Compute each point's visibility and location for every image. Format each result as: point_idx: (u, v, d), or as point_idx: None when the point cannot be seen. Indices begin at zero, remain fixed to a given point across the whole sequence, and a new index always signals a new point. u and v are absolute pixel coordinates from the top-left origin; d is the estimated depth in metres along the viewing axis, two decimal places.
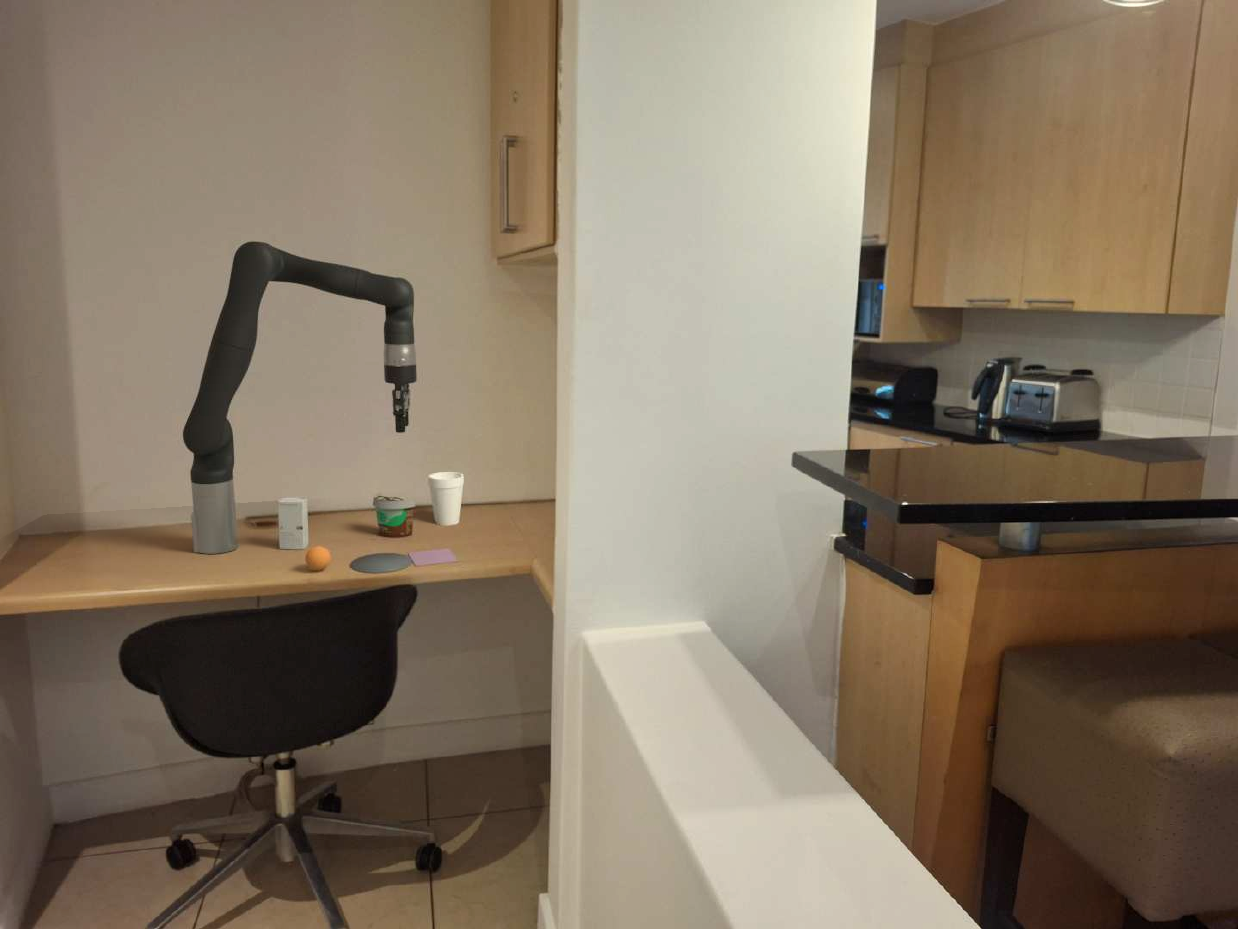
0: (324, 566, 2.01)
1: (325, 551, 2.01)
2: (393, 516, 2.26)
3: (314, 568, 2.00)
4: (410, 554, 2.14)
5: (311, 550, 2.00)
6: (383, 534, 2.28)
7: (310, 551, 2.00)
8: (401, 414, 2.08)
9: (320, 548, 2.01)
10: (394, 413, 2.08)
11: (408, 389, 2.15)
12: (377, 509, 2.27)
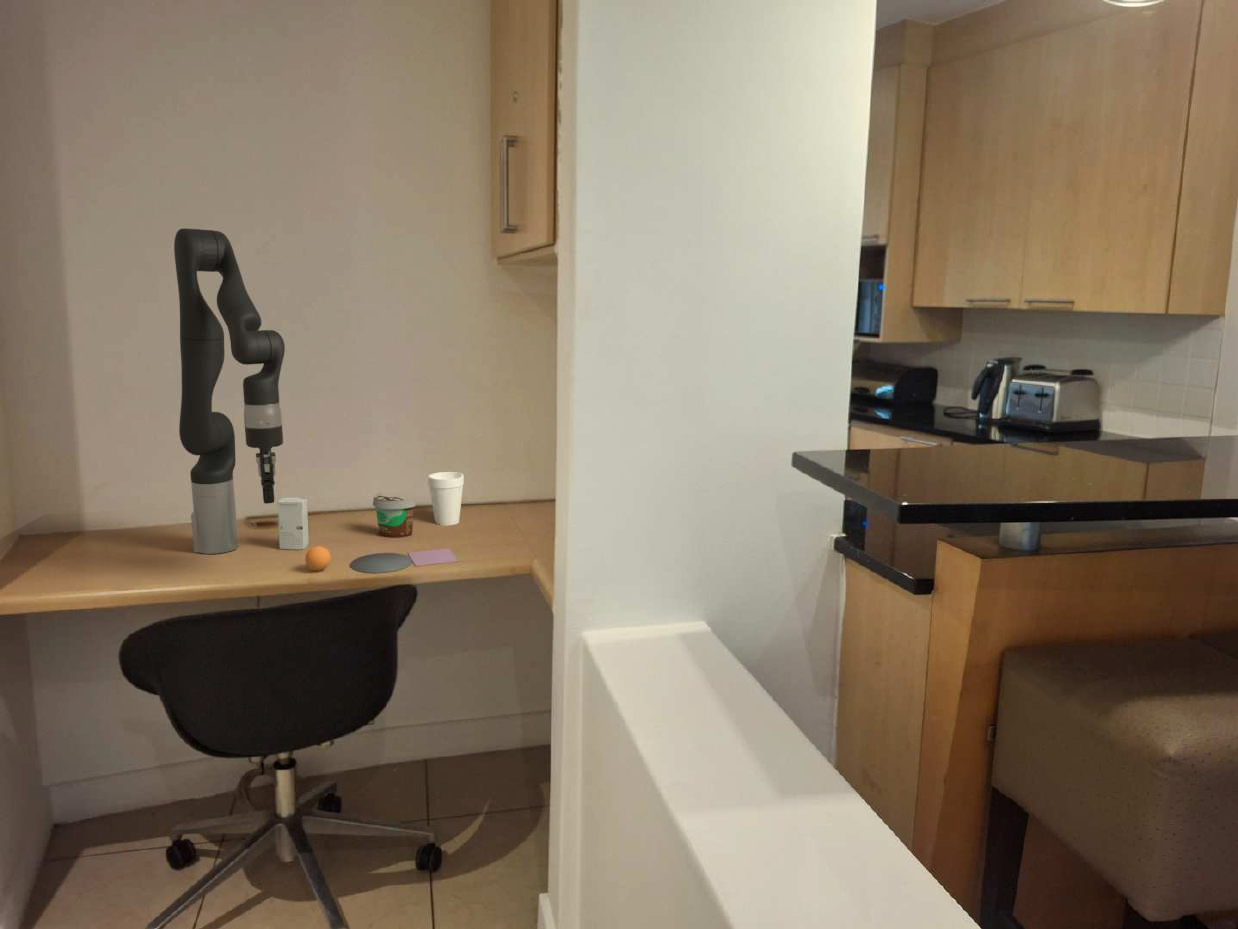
0: (324, 566, 2.01)
1: (325, 551, 2.01)
2: (393, 516, 2.26)
3: (314, 568, 2.00)
4: (410, 554, 2.14)
5: (311, 550, 2.00)
6: (383, 534, 2.28)
7: (310, 551, 2.00)
8: None
9: (320, 548, 2.01)
10: None
11: (257, 456, 1.91)
12: (377, 509, 2.27)
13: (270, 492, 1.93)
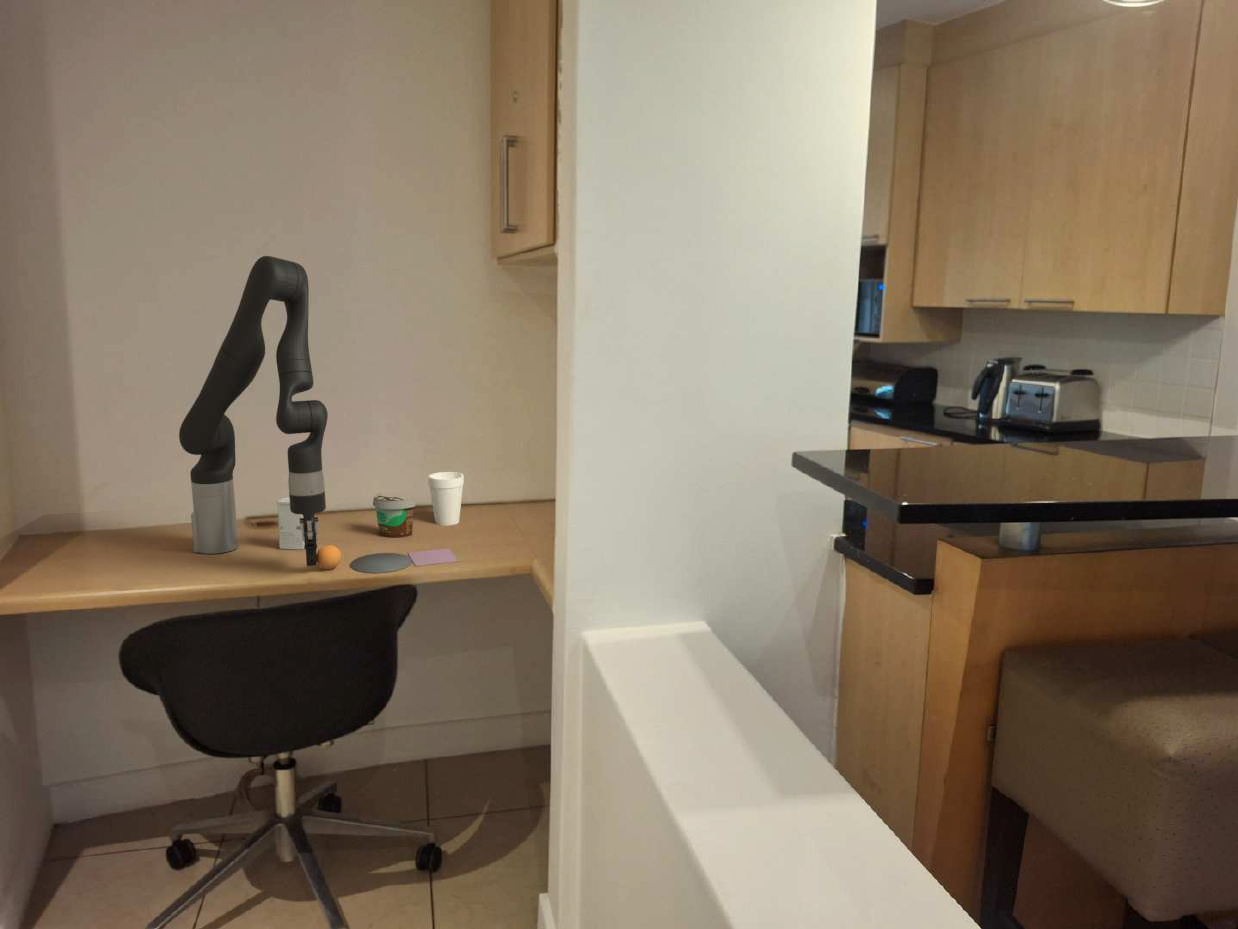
0: (331, 567, 2.01)
1: (339, 554, 2.02)
2: (393, 516, 2.26)
3: (322, 564, 2.01)
4: (410, 554, 2.14)
5: (328, 547, 2.02)
6: (383, 534, 2.28)
7: (326, 546, 2.02)
8: None
9: (336, 549, 2.02)
10: None
11: (301, 522, 1.96)
12: (377, 509, 2.27)
13: (313, 555, 1.99)
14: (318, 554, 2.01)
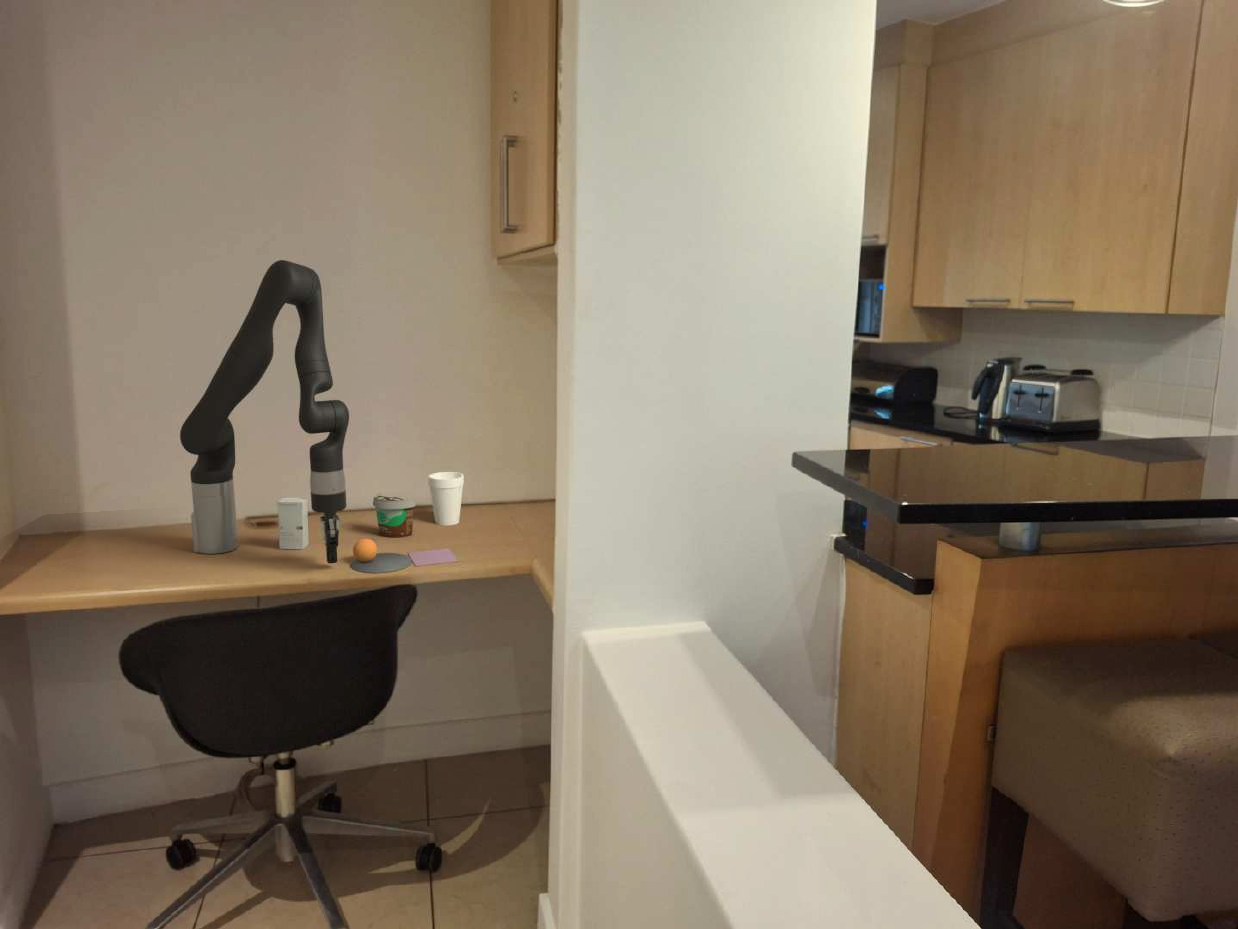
0: (362, 549, 2.05)
1: (368, 560, 2.07)
2: (393, 516, 2.26)
3: (367, 541, 2.07)
4: (410, 554, 2.14)
5: None
6: (383, 534, 2.28)
7: None
8: None
9: (372, 559, 2.08)
10: None
11: (322, 520, 1.99)
12: (377, 509, 2.27)
13: (334, 553, 2.02)
14: None
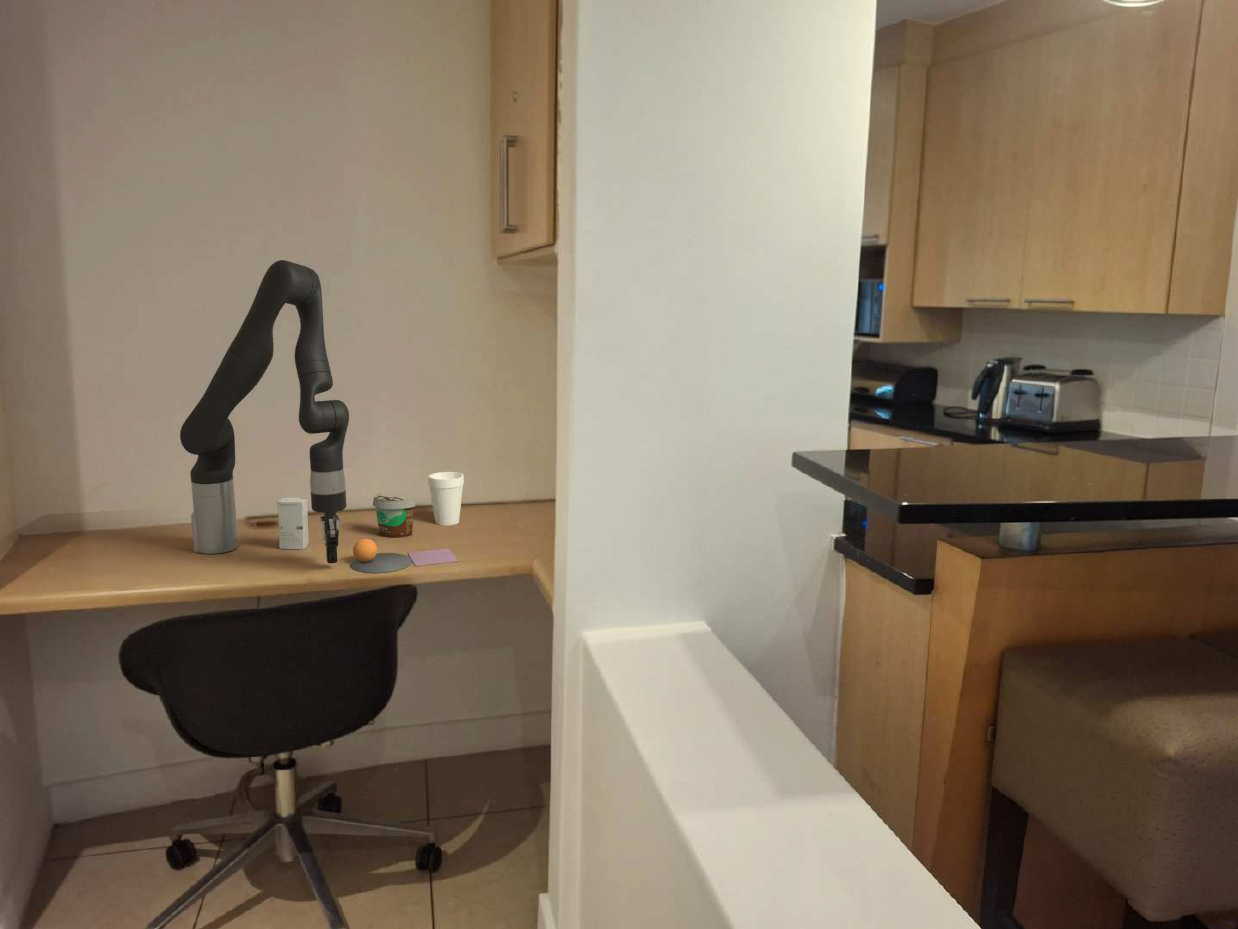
0: (362, 549, 2.05)
1: (368, 560, 2.07)
2: (393, 516, 2.26)
3: (367, 541, 2.07)
4: (410, 554, 2.14)
5: None
6: (383, 534, 2.28)
7: None
8: None
9: (372, 559, 2.08)
10: None
11: (322, 520, 1.99)
12: (377, 509, 2.27)
13: (334, 553, 2.02)
14: None
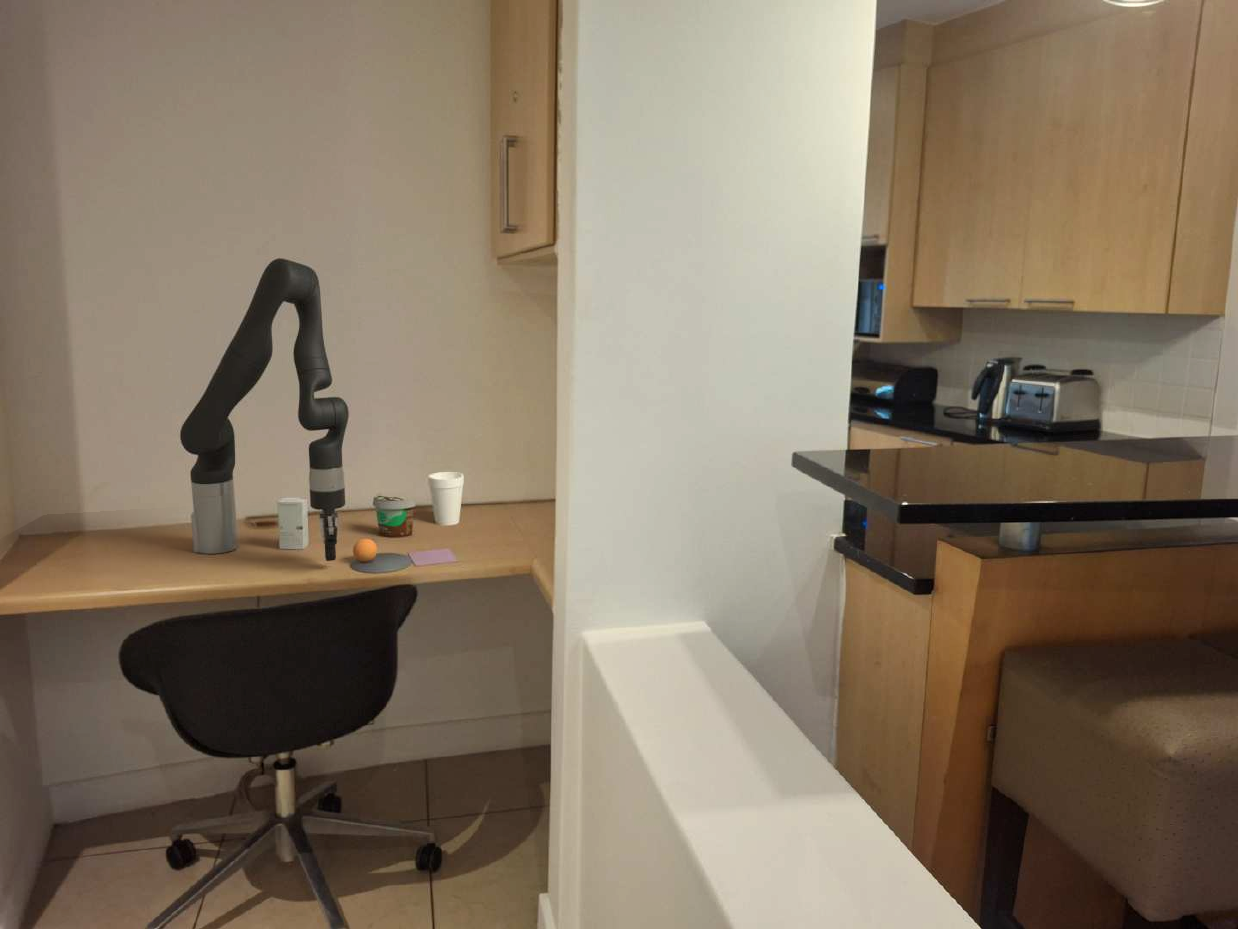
0: (362, 549, 2.05)
1: (368, 560, 2.07)
2: (393, 516, 2.26)
3: (367, 541, 2.07)
4: (410, 554, 2.14)
5: None
6: (383, 534, 2.28)
7: None
8: None
9: (372, 559, 2.08)
10: None
11: (321, 517, 1.98)
12: (377, 509, 2.27)
13: (332, 550, 2.01)
14: None
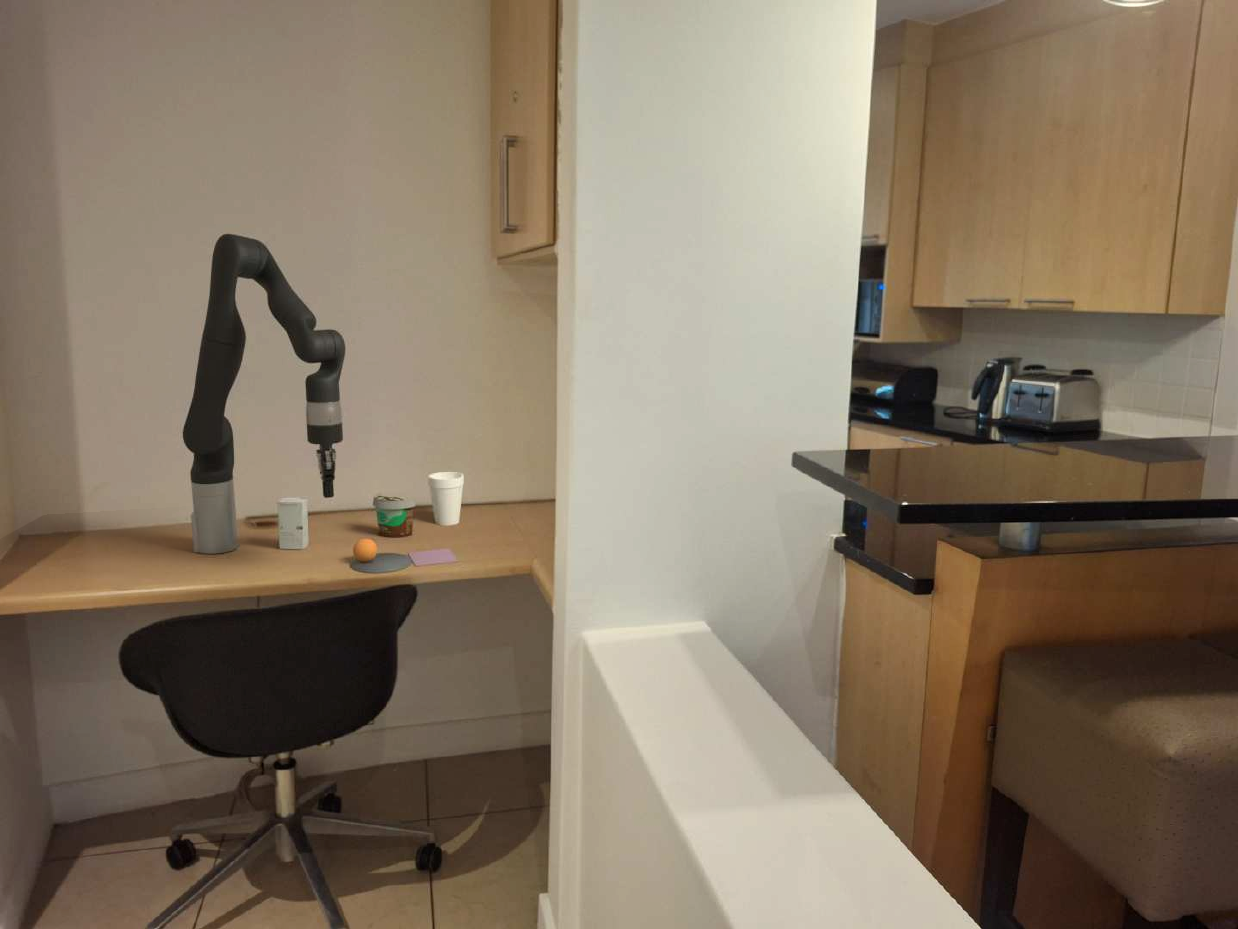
0: (362, 549, 2.05)
1: (368, 560, 2.07)
2: (393, 516, 2.26)
3: (367, 541, 2.07)
4: (410, 554, 2.14)
5: None
6: (383, 534, 2.28)
7: None
8: None
9: (372, 559, 2.08)
10: None
11: (318, 452, 1.95)
12: (377, 509, 2.27)
13: (330, 487, 1.98)
14: None
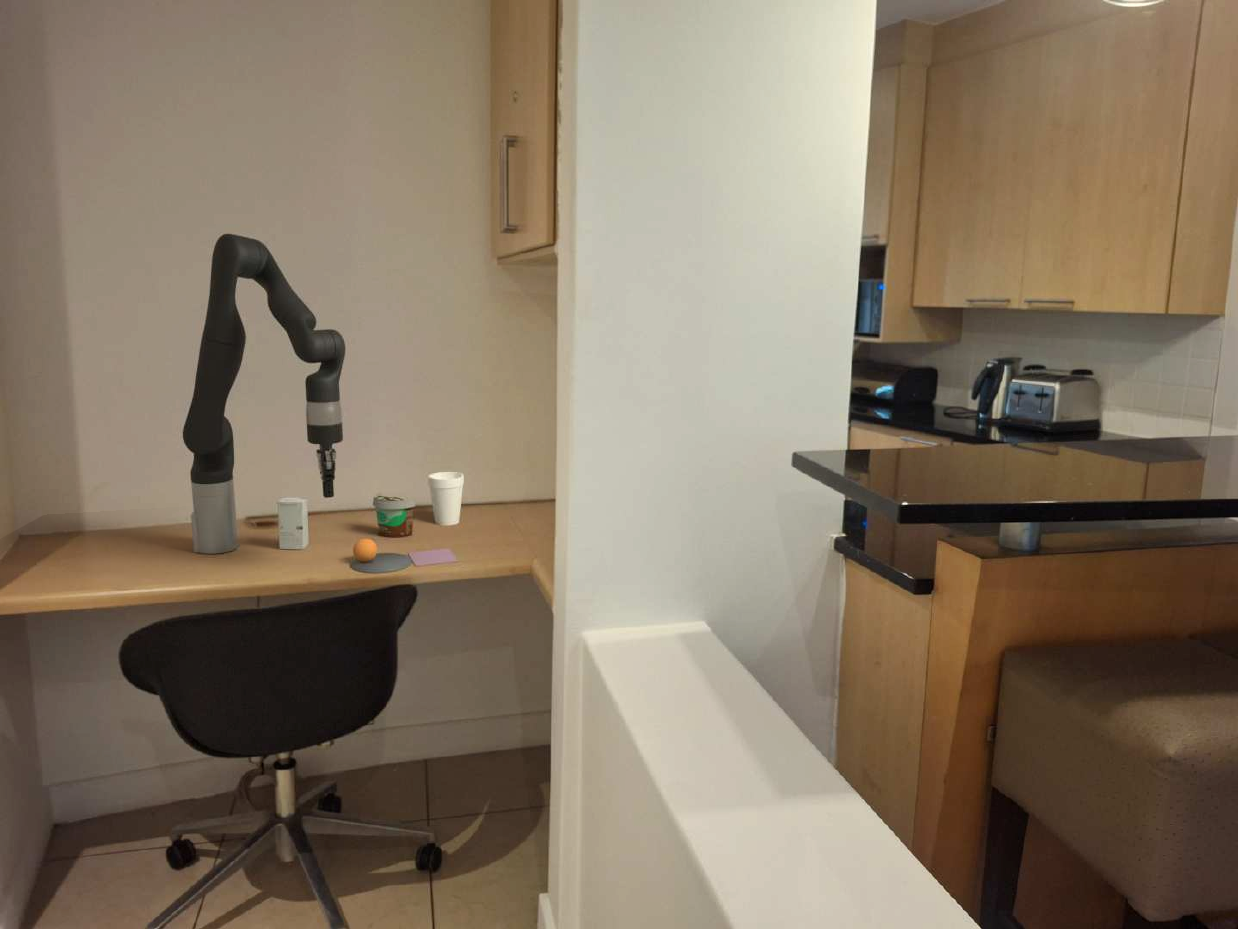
0: (362, 549, 2.05)
1: (368, 560, 2.07)
2: (393, 516, 2.26)
3: (367, 541, 2.07)
4: (410, 554, 2.14)
5: None
6: (383, 534, 2.28)
7: None
8: None
9: (372, 559, 2.08)
10: None
11: (318, 452, 1.96)
12: (377, 509, 2.27)
13: (330, 487, 1.98)
14: None
